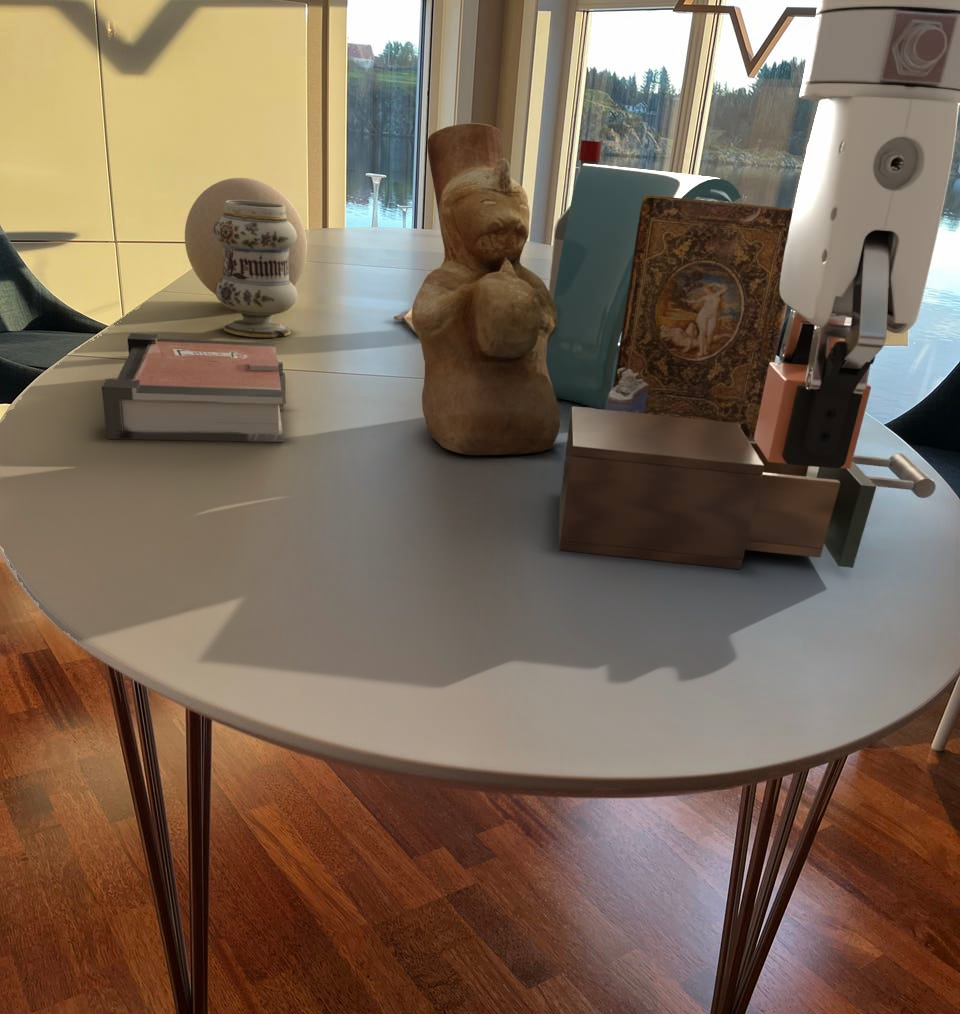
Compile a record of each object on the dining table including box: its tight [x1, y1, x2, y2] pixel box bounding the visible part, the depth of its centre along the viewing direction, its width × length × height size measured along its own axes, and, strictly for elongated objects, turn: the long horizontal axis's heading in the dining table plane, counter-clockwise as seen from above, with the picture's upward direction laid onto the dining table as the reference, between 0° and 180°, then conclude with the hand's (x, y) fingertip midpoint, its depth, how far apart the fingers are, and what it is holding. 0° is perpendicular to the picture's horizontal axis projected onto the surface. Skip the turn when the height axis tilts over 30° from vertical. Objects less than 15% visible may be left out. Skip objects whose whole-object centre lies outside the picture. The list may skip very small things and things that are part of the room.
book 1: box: [101, 332, 287, 443], centre depth 103 cm, size 26×18×5 cm
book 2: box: [613, 195, 793, 441], centre depth 100 cm, size 16×6×25 cm, turn 82°
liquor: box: [547, 139, 603, 300], centre depth 168 cm, size 9×9×30 cm
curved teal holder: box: [546, 164, 742, 410], centre depth 116 cm, size 26×28×28 cm
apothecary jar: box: [214, 200, 298, 339], centre depth 140 cm, size 12×12×18 cm
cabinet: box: [558, 405, 764, 570], centre depth 79 cm, size 15×13×9 cm
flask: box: [606, 368, 649, 413], centre depth 91 cm, size 9×3×11 cm, turn 158°
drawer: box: [745, 441, 937, 568], centre depth 79 cm, size 19×11×7 cm, turn 85°
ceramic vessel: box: [411, 122, 561, 456], centre depth 98 cm, size 16×22×30 cm
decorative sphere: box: [184, 177, 308, 296], centre depth 159 cm, size 20×20×20 cm
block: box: [754, 362, 872, 469], centre depth 51 cm, size 4×4×4 cm
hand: (802, 446), depth 52 cm, fingers closed on block, 4 cm apart
